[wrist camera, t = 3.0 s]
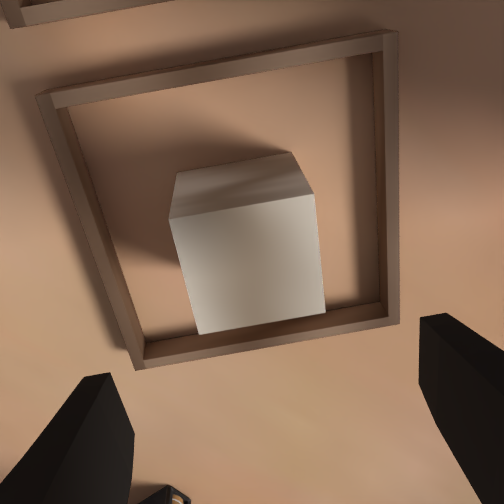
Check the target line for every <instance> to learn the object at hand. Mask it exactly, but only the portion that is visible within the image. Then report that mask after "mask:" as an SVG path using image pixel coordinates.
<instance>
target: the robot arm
mask: <svg viewBox="0 0 504 504" xmlns="http://www.w3.org/2000/svg"><path fill="white" fill-rule="evenodd" d="M419 385H420V388H421V390H422V393H423V395H424V398H425V400H426V402H427V405H428V407H429V409H430V412H431V414H432V416H433V418H434V421H435V423H436V425H437V427H438V428H439V430H440V432H441V434H442V436H443V437H444V439H445V441H446V443H447V444H448V446H449V448H450V450H451V451H452V453H453V455H454V457H455V458H456V460H457V462H458V463H459V465H460V467H461V469H462V470H463V472H464V474H465V475H466V477H467V479H468V481H469V482H470V484H471V486H472V488H473V489H474V491H475V493H476V494H477V496H478V498H479V500H480V501H481V503H482V504H504V351H503V350H501V349H500V348H498V347H497V346H495V345H494V344H492V343H491V342H489V341H488V340H486V339H485V338H483V337H482V336H480V335H479V334H477V333H476V332H474V331H473V330H471V329H470V328H469V327H467V326H466V325H464V324H463V323H461V322H460V321H458V320H457V319H455V318H454V317H452V316H451V315H449V314H447V313H442V314H436V315H430V316H425V317H420V336H419ZM134 437H135V433H134V431H133V428H132V426H131V423H130V421H129V418H128V416H127V413H126V411H125V408H124V406H123V403H122V401H121V398H120V396H119V393H118V391H117V388H116V386H115V383H114V381H113V378H112V376H111V373H110V372H109V373H103V374H97V375H92V376H86V377H84V378H83V379H82V380H81V381H80V383H79V384H78V385H77V387H76V388H75V389H74V391H73V392H72V393H71V395H70V396H69V397H68V399H67V400H66V401H65V403H64V404H63V405H62V407H61V408H60V409H59V411H58V412H57V413H56V415H55V416H54V417H53V419H52V420H51V421H50V423H49V424H48V425H47V427H46V428H45V429H44V430H43V432H42V433H41V434H40V436H39V437H38V438H37V439H36V441H35V442H34V443H33V445H32V446H31V447H30V448H29V450H28V451H27V452H26V454H25V455H24V456H23V457H22V459H21V460H20V461H19V462H18V463H17V465H16V466H15V467H14V468H13V469H12V470H11V472H10V473H9V474H8V475H7V476H6V478H5V479H4V480H3V481H2V482H1V484H0V504H127V502H128V497H129V491H130V485H131V480H132V469H133V456H134Z"/></svg>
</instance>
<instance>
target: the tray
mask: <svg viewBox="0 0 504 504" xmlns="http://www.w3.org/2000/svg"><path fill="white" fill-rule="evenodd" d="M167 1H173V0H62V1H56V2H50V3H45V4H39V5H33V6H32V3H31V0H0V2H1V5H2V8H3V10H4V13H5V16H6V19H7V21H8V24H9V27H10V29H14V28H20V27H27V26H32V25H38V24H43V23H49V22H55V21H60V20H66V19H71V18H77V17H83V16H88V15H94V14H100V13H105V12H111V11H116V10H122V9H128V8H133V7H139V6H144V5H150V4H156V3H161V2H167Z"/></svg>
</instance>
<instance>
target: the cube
mask: <svg viewBox="0 0 504 504" xmlns="http://www.w3.org/2000/svg"><path fill="white" fill-rule="evenodd" d="M168 220H169V224H170V227H171V231H172V235H173V239H174V243H175V246H176V250H177V254H178V258H179V261H180V265H181V269H182V273H183V276H184V280H185V284H186V288H187V291H188V295H189V299H190V303H191V306H192V310H193V314H194V318H195V322H196V325H197V329H198V333H199V335H201V334H207V333H213V332H218V331H224V330H230V329H235V328H241V327H247V326H253V325H258V324H264V323H270V322H275V321H281V320H287V319H292V318H298V317H304V316H310V315H315V314H321V313H326V310H325V300H324V290H323V279H322V269H321V259H320V249H319V239H318V228H317V218H316V208H315V198H314V193H313V191H312V189H311V187H310V185H309V183H308V182H307V180H306V178H305V176H304V174H303V172H302V170H301V169H300V167H299V165H298V163H297V161H296V159H295V157H294V156H293V154H292V152H290V153H284V154H279V155H273V156H267V157H262V158H256V159H250V160H245V161H239V162H233V163H228V164H222V165H217V166H211V167H205V168H200V169H194V170H188V171H183V172H177V175H176V181H175V186H174V192H173V197H172V202H171V208H170V213H169V219H168Z"/></svg>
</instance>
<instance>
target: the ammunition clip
mask: <svg viewBox="0 0 504 504" xmlns="http://www.w3.org/2000/svg"><path fill="white" fill-rule="evenodd" d="M139 504H191V500H190V499H189V498H188V497H186V496H185V495H183V494H182V493H180V492H179V491H177V490H176V489H174V488H173V487H170V486H168V485H167V486H166V487H164V488H163V489H161V490H159V491H158V492H156V493H155V494H153V495H151V496H150V497H148V498H147V499H145V500H143V501H142V502H140V503H139Z"/></svg>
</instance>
